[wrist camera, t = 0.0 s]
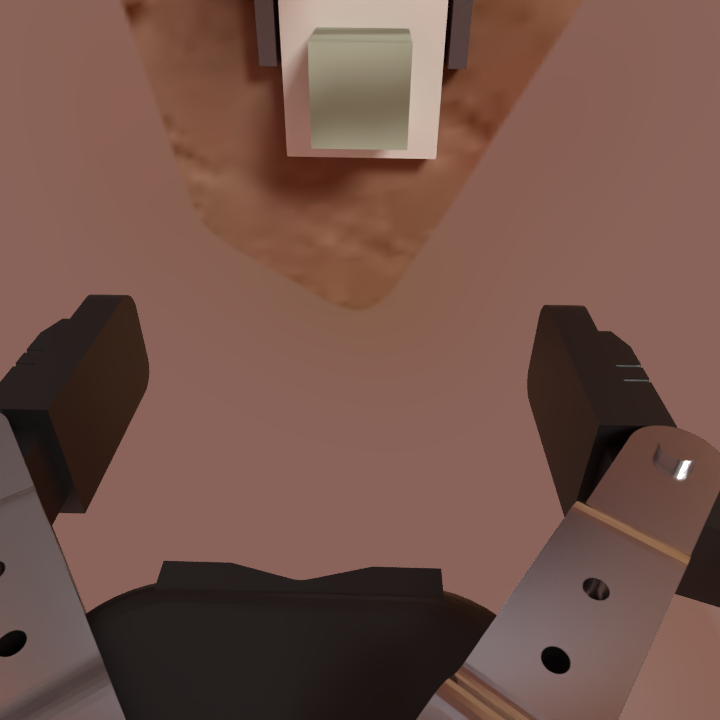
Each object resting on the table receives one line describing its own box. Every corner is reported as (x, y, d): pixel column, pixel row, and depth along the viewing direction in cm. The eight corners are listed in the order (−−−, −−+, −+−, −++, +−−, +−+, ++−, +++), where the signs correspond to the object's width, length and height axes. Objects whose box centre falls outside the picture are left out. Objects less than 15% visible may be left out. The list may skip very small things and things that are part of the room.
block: (316, 27, 34) (307, 42, 30) (408, 28, 34) (412, 43, 30) (319, 122, 37) (311, 148, 33) (404, 124, 37) (407, 150, 33)
